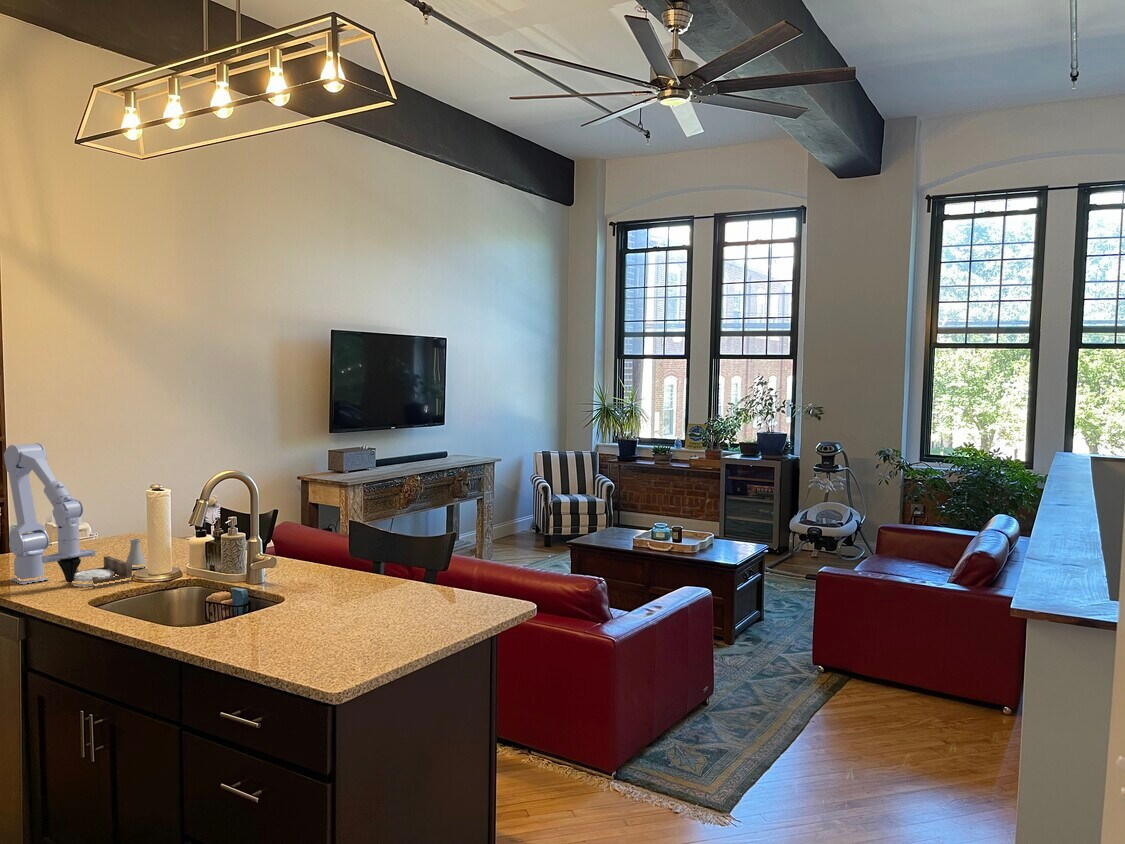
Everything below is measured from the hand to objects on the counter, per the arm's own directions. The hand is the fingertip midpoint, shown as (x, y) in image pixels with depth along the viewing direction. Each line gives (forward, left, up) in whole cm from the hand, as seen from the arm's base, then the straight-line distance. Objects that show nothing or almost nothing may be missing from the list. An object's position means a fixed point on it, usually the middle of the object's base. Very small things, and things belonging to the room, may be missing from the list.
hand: (69, 582), depth 259 cm
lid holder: (0, +9, -1) cm, 9 cm away
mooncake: (0, +7, -2) cm, 7 cm away
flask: (-11, +24, -2) cm, 27 cm away
